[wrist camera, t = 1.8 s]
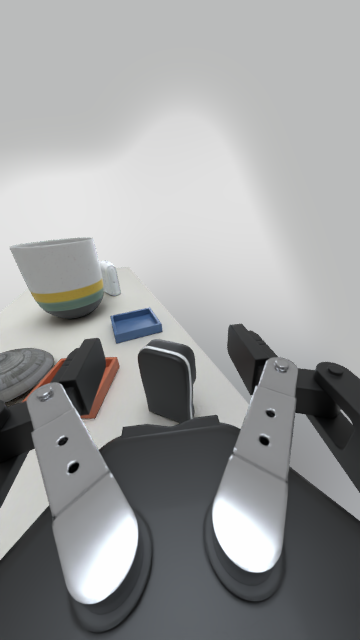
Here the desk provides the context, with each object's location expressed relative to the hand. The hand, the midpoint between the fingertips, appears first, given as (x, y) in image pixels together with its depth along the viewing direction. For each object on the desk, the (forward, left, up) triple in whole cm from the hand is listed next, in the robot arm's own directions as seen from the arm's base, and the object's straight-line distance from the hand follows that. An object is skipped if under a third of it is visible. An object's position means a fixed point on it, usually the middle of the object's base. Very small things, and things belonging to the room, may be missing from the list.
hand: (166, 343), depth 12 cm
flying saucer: (+33, -15, -18) cm, 41 cm away
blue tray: (+14, -34, -18) cm, 41 cm away
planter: (+35, -44, -18) cm, 59 cm away
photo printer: (+31, -63, -18) cm, 73 cm away
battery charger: (+2, -9, -18) cm, 21 cm away
